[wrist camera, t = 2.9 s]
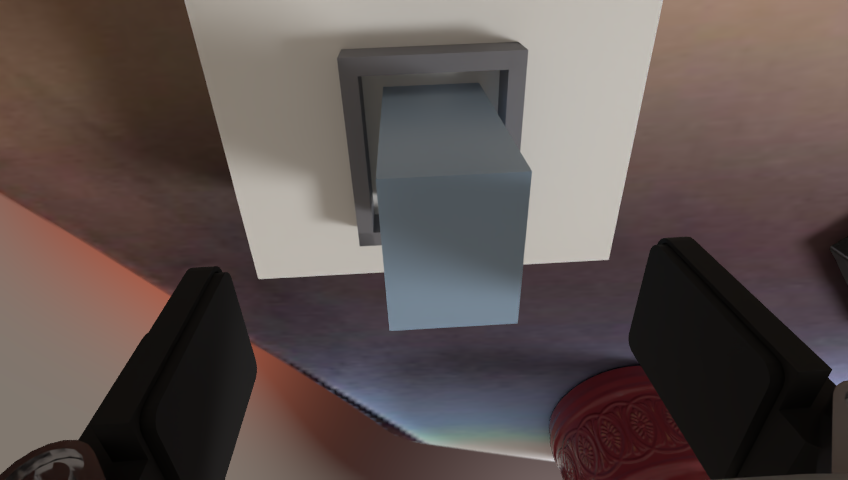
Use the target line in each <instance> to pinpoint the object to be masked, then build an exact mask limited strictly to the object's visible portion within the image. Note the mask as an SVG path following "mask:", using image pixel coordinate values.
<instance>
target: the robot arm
mask: <svg viewBox="0 0 848 480" xmlns="http://www.w3.org/2000/svg"><path fill="white" fill-rule="evenodd" d="M629 345H630V348H631V351H632V352H633V354H634V356H635V357H636V359H637V361H638V362H639V364H640V365H641V367H642V369H643V370H644V372H645V374H646V375H647V377H648V379H649V380H650V382H651V383H652V385H653V387H654V388H655V390H656V392H657V393H658V395H659V396H660V398H661V400H662V401H663V403H664V405H665V406H666V408H667V410H668V411H669V413H670V414H671V416H672V418H673V419H674V421H675V423H676V424H677V426H678V428H679V429H680V431H681V432H682V434H683V436H684V437H685V439H686V441H687V442H688V444H689V445H690V447H691V449H692V450H693V452H694V454H695V455H696V457H697V459H698V460H699V462H700V463H701V465H702V467H703V468H704V470H705V472H706V473H707V475H708V476H709V478H710V479H711V480H848V381H843V382H842V383H840V384H838V385H837V386H836V385H835V384H834V383H833V382H832V381H831V380H830V379H829V378H828V376H829V374H830V372H831V371H832V369H831V368H830V367H829V366H828V365H827V364H826V363H825V362H824V361H823V360H822V359H821V358H819V357H818V356H817V355H816V354H815V353H814V352H813V351H812V350H811V349H810V348H809V347H808V346H807V345H806V344H805V343H803V342H802V341H801V340H800V339H799V338H798V337H797V336H796V335H795V334H794V333H793V332H792V331H791V330H790V329H789V328H788V327H786V326H785V325H784V324H783V323H782V322H781V321H780V320H779V319H778V318H777V317H776V316H775V315H774V314H773V313H772V312H770V311H769V310H768V309H767V308H766V307H765V306H764V305H763V304H762V303H761V302H760V301H759V300H758V299H757V298H756V297H754V296H753V295H752V294H751V293H750V292H749V291H748V290H747V289H746V288H745V287H744V286H743V285H742V284H741V283H740V282H739V281H737V280H736V279H735V278H734V277H733V276H732V275H731V274H730V273H729V272H728V271H727V270H726V269H725V268H724V267H723V266H721V265H720V264H719V263H718V262H717V261H716V260H715V259H714V258H713V257H712V256H711V255H710V254H709V253H708V252H707V251H705V250H704V249H703V248H702V247H701V246H700V245H699V244H698V243H697V242H696V241H695V240H694V239H692V238H691V237H675V238H663V239H661V240H660V241H659V242H658V244H657V245H654V246H653V247H652V248H651V250H650V253H649V257H648V261H647V265H646V269H645V273H644V277H643V281H642V285H641V289H640V293H639V297H638V301H637V305H636V309H635V313H634V316H633V320H632V324H631V328H630V332H629ZM256 373H257V365H256V360H255V357H254V353H253V350H252V346H251V343H250V339H249V336H248V333H247V329H246V326H245V322H244V319H243V316H242V312H241V309H240V306H239V302H238V299H237V295H236V292H235V289H234V285H233V282H232V278H231V276H230V274H229V273H227V272H224V273H222V270H221V269H220V268H219V267H217V266H214V267H198V268H190V269H188V270H187V272H186V273H185V275H184V276H183V278H182V280H181V281H180V283H179V284H178V286H177V288H176V289H175V291H174V292H173V294H172V296H171V297H170V299H169V300H168V302H167V304H166V305H165V307H164V309H163V310H162V312H161V313H160V315H159V317H158V318H157V320H156V321H155V323H154V325H153V326H152V328H151V329H150V331H149V333H147V334H146V335H145V336H144V337H143V339H142V340H141V342H140V343H139V345H138V346H137V348H136V350H135V351H134V353H133V354H132V356H131V358H130V359H129V361H128V362H127V364H126V366H125V367H124V369H123V370H122V372H121V373H120V375H119V377H118V378H117V380H116V382H115V383H114V384H113V386H112V388H111V389H110V391H109V392H108V394H107V396H106V397H105V399H104V400H103V402H102V404H101V405H100V407H99V408H98V410H97V411H96V413H95V415H94V416H93V418H92V420H91V421H90V423H89V424H88V426H87V427H86V429H85V430H84V432H83V434H82V435H81V437H80V438H79V440H63V441H59V442H55V443H50V444H47V445H45V446H43V447H41V448H38V449H36V450H34V451H31V452H30V453H28V454H27V455H25V456H23V457H22V458H20V459H19V460H17V461H15V462H14V463H13V464H12V465H11V466H10V467H8V468H7V469H6V470H5V471H4V472H3V473H2V474H0V480H225V477H226V474H227V470H228V467H229V464H230V461H231V457H232V454H233V451H234V448H235V444H236V441H237V438H238V434H239V431H240V428H241V424H242V421H243V418H244V415H245V412H246V408H247V405H248V402H249V399H250V395H251V392H252V389H253V385H254V382H255V379H256Z"/></svg>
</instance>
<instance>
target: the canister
mask: <svg viewBox="0 0 848 480" xmlns="http://www.w3.org/2000/svg"><path fill="white" fill-rule="evenodd" d="M549 432H550V446H551V450H552V453H553V457H554V460H555V462H556V464H557V466H558V468H559V469H560V471H561V475H562V478H563V480H711V479H710V478H709V476H708V475H707V473H706V472H705V470H704V468H703V467H702V465H701V463H700V462H699V460H698V459H697V457H696V455H695V454H694V452H693V450H692V449H691V447H690V445H689V444H688V442H687V441H686V439H685V437H684V436H683V434H682V432H681V431H680V429H679V428H678V426H677V424H676V423H675V421H674V419H673V418H672V416H671V414H670V413H669V411H668V410H667V408H666V406H665V405H664V403H663V401H662V400H661V398H660V396H659V395H658V393H657V392H656V390H655V388H654V387H653V385H652V383H651V382H650V380H649V379H648V377H647V375H646V374H645V372H644V370H643V369H642V367H641V366H629V367H622V368H618V369H614V370H610V371H607V372H604V373H601V374H598V375H596V376H594V377H592V378H590V379H588V380H586V381H584V382H582V383H581V384H579V385H578V386H576V387H575V388H573V389H572V390H571V391H570V392H569V393H567V394H566V395H565V396H564V397H563V398H562V399H561V401H560V402H559V403H558V404H557V406H556V407H555V409H554V411H553V413H552V415H551V418H550V422H549Z"/></svg>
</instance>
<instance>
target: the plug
mask: <svg viewBox="0 0 848 480" xmlns="http://www.w3.org/2000/svg"><path fill="white" fill-rule="evenodd" d="M531 177H532V170H531V169H530V167H529V165H528V164H527V162H526V160H525V159H524V157H523V155H522V154H521V152H520V150H519V149H518V147H517V145H516V144H515V142H514V140H513V139H512V137H511V135H510V134H509V132H508V130H507V129H506V127H505V125H504V124H503V122H502V120H501V119H500V117H499V115H498V114H497V112H496V110H495V109H494V107H493V105H492V104H491V102H490V100H489V99H488V97H487V95H486V94H485V92H484V90H483V89H482V87H481V85H480V84H479V83H459V84H437V85H415V86H393V87H383V94H382V107H381V119H380V131H379V144H378V156H377V168H376V189H377V200H378V210H379V221H380V232H381V243H382V254H383V265H384V275H385V286H386V297H387V308H388V319H389V330H390V331H396V330H413V329H430V328H447V327H464V326H481V325H498V324H515V323H518V313H519V303H520V292H521V282H522V271H523V261H524V251H525V240H526V230H527V219H528V209H529V198H530V188H531Z"/></svg>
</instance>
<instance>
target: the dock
mask: <svg viewBox="0 0 848 480" xmlns="http://www.w3.org/2000/svg"><path fill="white" fill-rule="evenodd" d="M184 1H185V5H186V9H187V12H188V16H189V20H190V24H191V27H192V31H193V35H194V39H195V42H196V46H197V50H198V54H199V57H200V61H201V65H202V69H203V72H204V76H205V80H206V84H207V88H208V91H209V95H210V99H211V103H212V106H213V110H214V114H215V118H216V121H217V125H218V129H219V133H220V136H221V140H222V144H223V148H224V151H225V155H226V159H227V163H228V166H229V170H230V174H231V178H232V182H233V185H234V189H235V193H236V197H237V200H238V204H239V208H240V212H241V215H242V219H243V223H244V227H245V230H246V234H247V238H248V242H249V245H250V249H251V253H252V257H253V261H254V264H255V268H256V272H257V276H258V279H270V278H288V277H306V276H324V275H342V274H360V273H378V272H384V265H383V254H382V243H381V232H380V221H379V210H378V200H377V189H376V168H377V156H378V144H379V131H380V119H381V107H382V94H383V87H393V86H415V85H437V84H459V83H479V84H480V85H481V87H482V89H483V90H484V92H485V94H486V95H487V97H488V99H489V100H490V102H491V104H492V105H493V107H494V109H495V110H496V112H497V114H498V115H499V117H500V119H501V120H502V122H503V124H504V125H505V127H506V129H507V130H508V132H509V134H510V135H511V137H512V139H513V140H514V142H515V144H516V145H517V147H518V149H519V150H520V152H521V154H522V155H523V157H524V159H525V160H526V162H527V164H528V165H529V167H530V169H531V170H532V177H531V188H530V198H529V209H528V219H527V230H526V240H525V251H524V261H523V264H540V263H558V262H576V261H594V260H609V256H610V251H611V246H612V241H613V237H614V232H615V227H616V222H617V217H618V213H619V208H620V203H621V198H622V194H623V189H624V184H625V179H626V174H627V170H628V165H629V160H630V155H631V151H632V146H633V141H634V136H635V132H636V127H637V122H638V117H639V112H640V108H641V103H642V98H643V93H644V89H645V84H646V79H647V74H648V69H649V65H650V60H651V55H652V50H653V46H654V41H655V36H656V31H657V26H658V22H659V17H660V12H661V7H662V3H663V0H184Z"/></svg>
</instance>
